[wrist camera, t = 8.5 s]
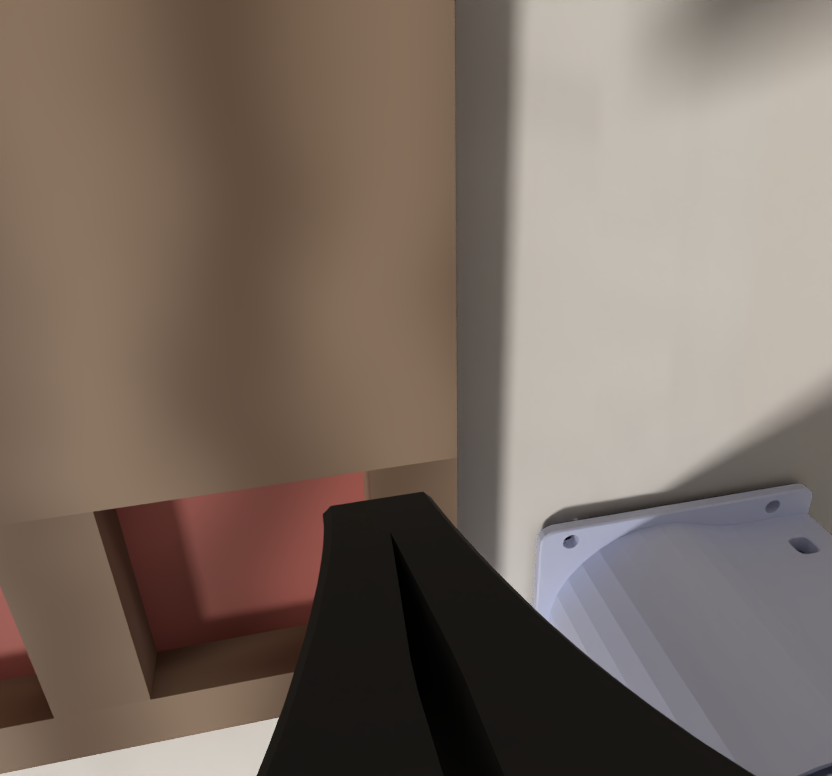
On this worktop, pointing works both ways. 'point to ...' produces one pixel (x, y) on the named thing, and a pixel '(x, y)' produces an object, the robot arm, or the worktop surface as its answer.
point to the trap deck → (208, 341)
